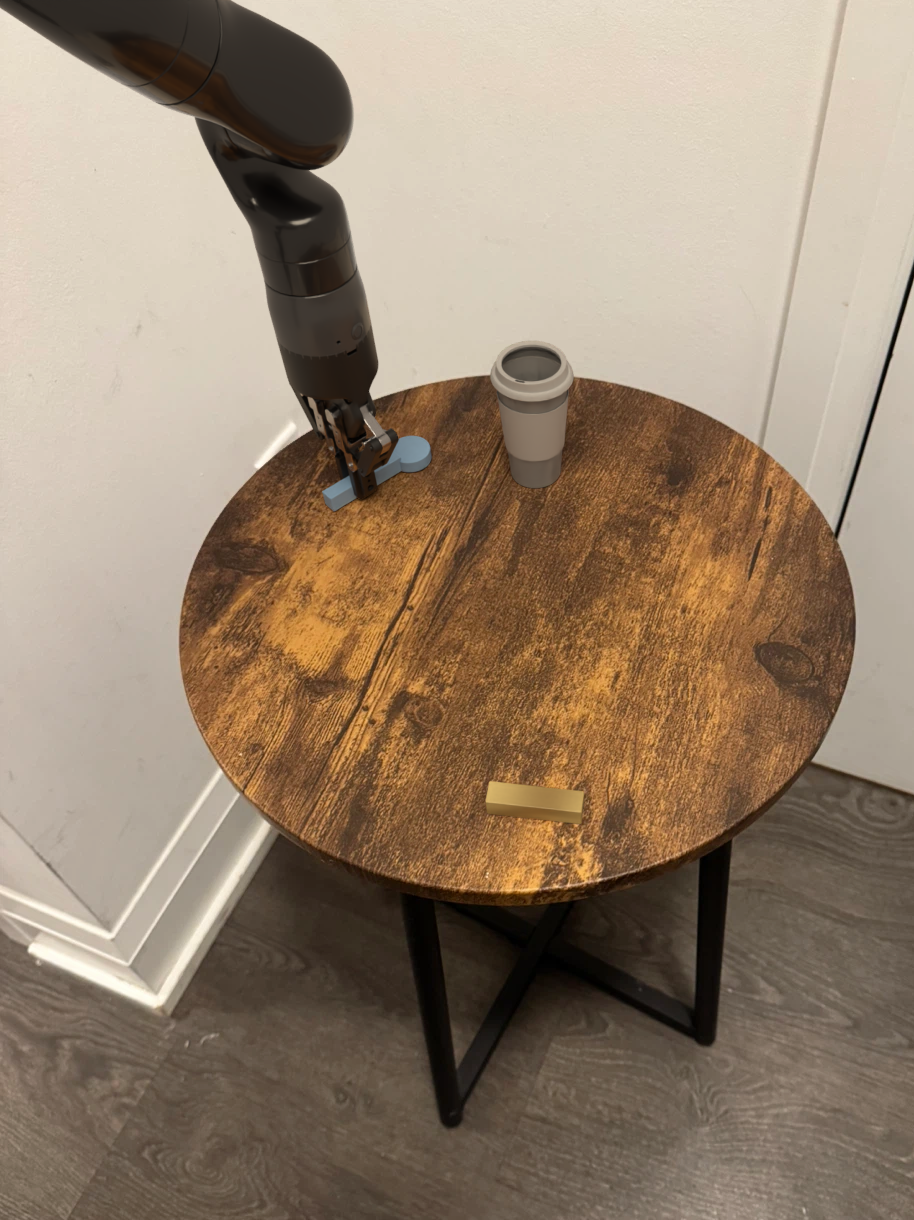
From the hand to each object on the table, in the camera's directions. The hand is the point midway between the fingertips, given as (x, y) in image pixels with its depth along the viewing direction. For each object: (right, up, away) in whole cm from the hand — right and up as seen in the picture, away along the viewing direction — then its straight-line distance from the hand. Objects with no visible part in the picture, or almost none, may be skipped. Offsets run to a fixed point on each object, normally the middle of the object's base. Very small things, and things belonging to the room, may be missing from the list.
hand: (360, 487), depth 95 cm
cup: (+16, +2, +1) cm, 16 cm away
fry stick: (+16, -28, -19) cm, 38 cm away
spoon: (+1, +1, +1) cm, 2 cm away
